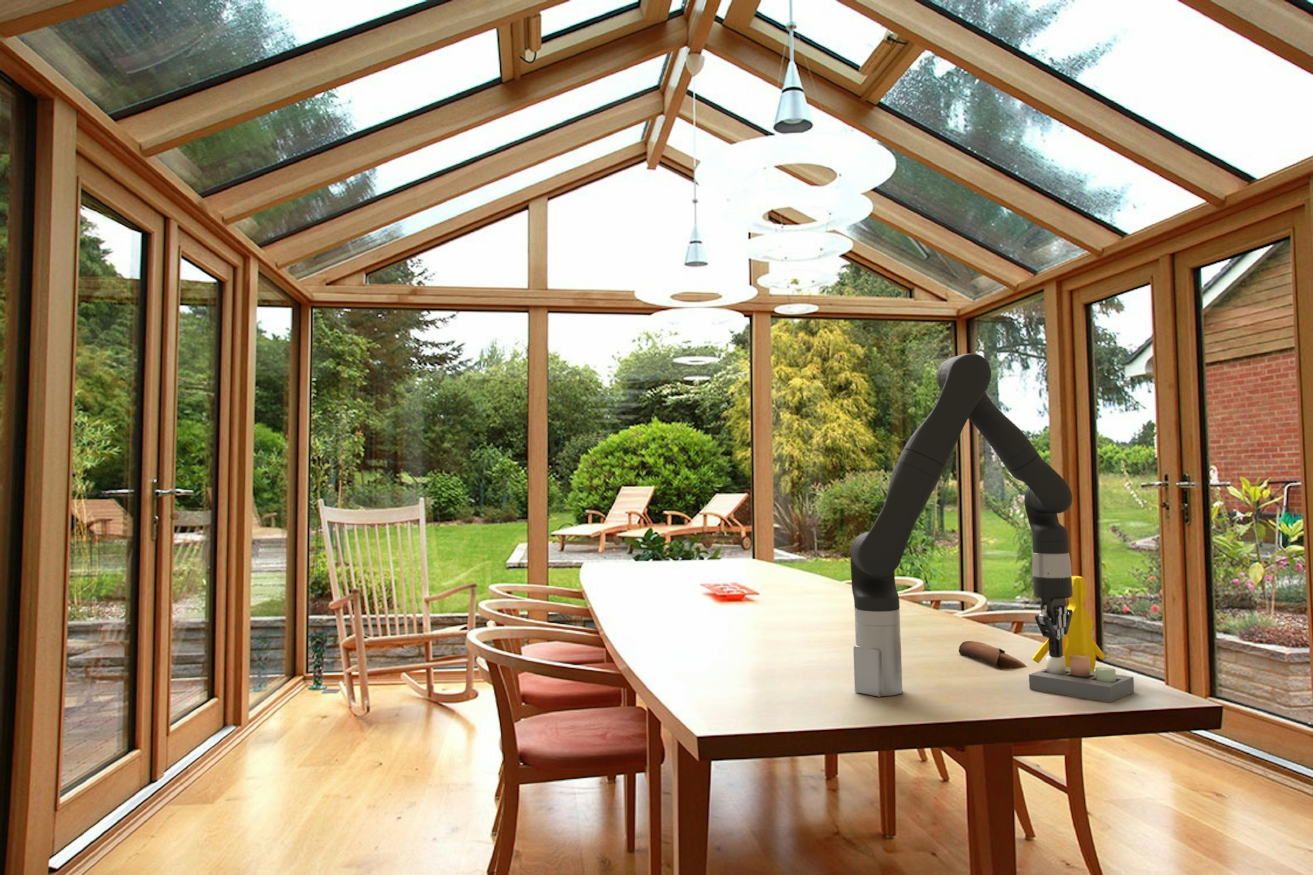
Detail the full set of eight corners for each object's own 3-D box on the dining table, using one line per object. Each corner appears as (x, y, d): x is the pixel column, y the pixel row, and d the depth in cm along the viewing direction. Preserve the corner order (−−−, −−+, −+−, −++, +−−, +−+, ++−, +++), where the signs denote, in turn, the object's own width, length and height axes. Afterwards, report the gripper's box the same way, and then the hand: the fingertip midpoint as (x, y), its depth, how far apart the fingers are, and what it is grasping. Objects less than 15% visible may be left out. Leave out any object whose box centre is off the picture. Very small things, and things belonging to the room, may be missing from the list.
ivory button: (1061, 676, 179) (1060, 659, 180) (1043, 673, 182) (1043, 656, 182) (1068, 673, 182) (1067, 656, 182) (1051, 670, 185) (1050, 654, 185)
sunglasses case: (1031, 666, 200) (1016, 642, 200) (1008, 684, 199) (993, 659, 199) (989, 652, 218) (975, 630, 218) (967, 668, 217) (953, 645, 217)
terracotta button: (1085, 676, 176) (1084, 659, 176) (1067, 674, 178) (1067, 657, 179) (1093, 673, 178) (1092, 656, 178) (1075, 671, 181) (1074, 654, 181)
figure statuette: (1098, 668, 198) (1094, 572, 199) (1122, 675, 190) (1117, 575, 191) (1027, 672, 195) (1023, 574, 196) (1048, 680, 187) (1043, 578, 188)
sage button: (1112, 689, 172) (1111, 671, 172) (1093, 686, 175) (1092, 669, 175) (1119, 686, 174) (1118, 668, 174) (1100, 683, 177) (1099, 666, 177)
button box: (1110, 702, 168) (1109, 686, 168) (1029, 688, 180) (1028, 674, 180) (1134, 691, 176) (1133, 676, 176) (1055, 679, 188) (1054, 665, 188)
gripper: (1055, 578, 176) (1060, 664, 175) (1083, 572, 185) (1087, 654, 184) (1019, 575, 182) (1023, 659, 181) (1048, 570, 190) (1052, 649, 189)
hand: (1056, 656), depth 182 cm, fingers closed
